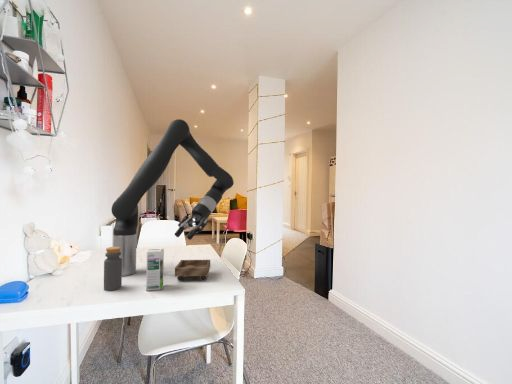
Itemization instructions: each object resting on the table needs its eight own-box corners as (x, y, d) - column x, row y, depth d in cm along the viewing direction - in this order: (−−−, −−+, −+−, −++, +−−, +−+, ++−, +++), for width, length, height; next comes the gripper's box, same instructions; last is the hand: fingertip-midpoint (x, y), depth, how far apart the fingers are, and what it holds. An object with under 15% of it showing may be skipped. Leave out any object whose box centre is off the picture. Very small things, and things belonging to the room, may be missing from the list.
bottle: (117, 284, 101) (118, 245, 101) (124, 287, 97) (124, 247, 97) (101, 288, 96) (101, 248, 96) (107, 292, 92) (108, 250, 92)
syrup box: (145, 291, 94) (146, 251, 94) (147, 285, 99) (148, 248, 99) (162, 289, 95) (163, 250, 95) (163, 284, 101) (164, 247, 101)
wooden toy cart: (174, 282, 103) (174, 268, 103) (181, 272, 116) (181, 259, 116) (207, 281, 105) (207, 267, 105) (210, 272, 118) (210, 259, 118)
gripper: (189, 202, 118) (166, 229, 109) (210, 203, 109) (187, 233, 100) (199, 213, 122) (177, 240, 113) (219, 214, 113) (198, 245, 104)
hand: (182, 237), depth 106 cm, fingers open, 8 cm apart
